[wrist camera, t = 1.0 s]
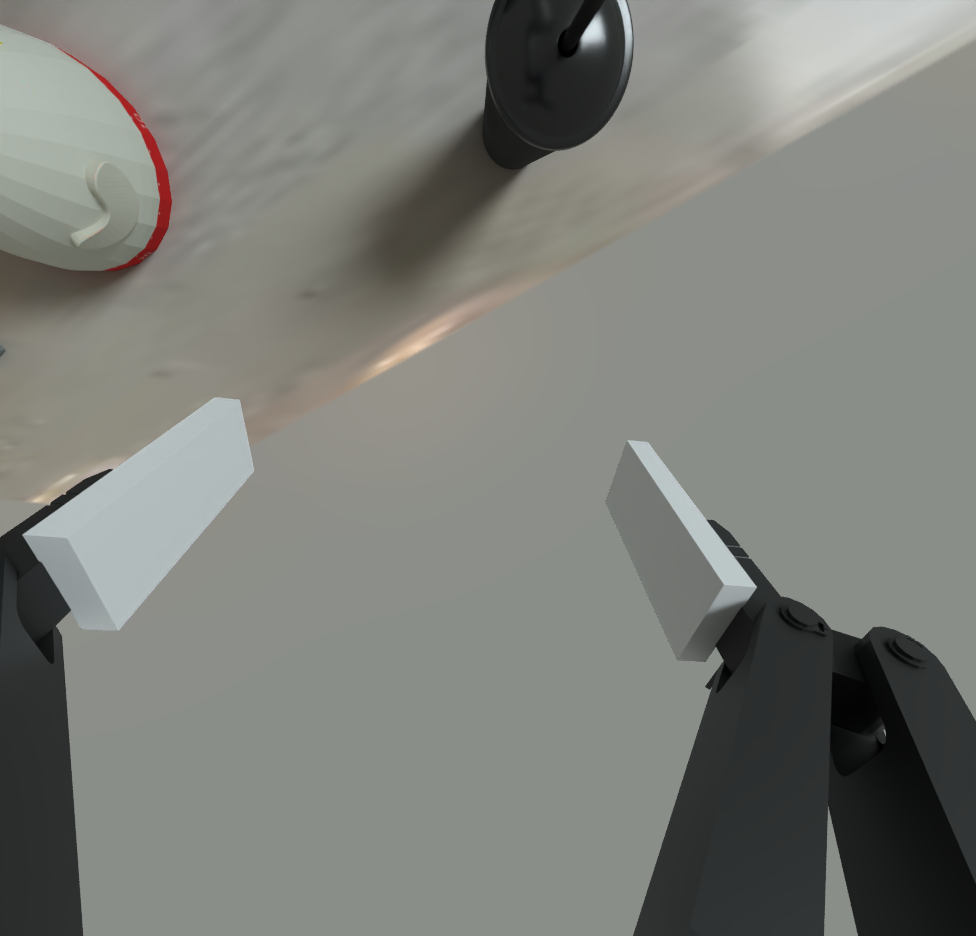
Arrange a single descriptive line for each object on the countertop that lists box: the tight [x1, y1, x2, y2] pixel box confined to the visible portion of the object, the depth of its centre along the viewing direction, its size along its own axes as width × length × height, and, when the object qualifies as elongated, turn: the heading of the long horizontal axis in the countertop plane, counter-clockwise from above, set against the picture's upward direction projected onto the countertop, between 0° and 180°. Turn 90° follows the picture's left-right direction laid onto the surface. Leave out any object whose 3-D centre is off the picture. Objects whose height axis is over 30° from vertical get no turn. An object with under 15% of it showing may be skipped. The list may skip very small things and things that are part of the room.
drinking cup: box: [483, 0, 633, 169], centre depth 24 cm, size 8×8×20 cm
